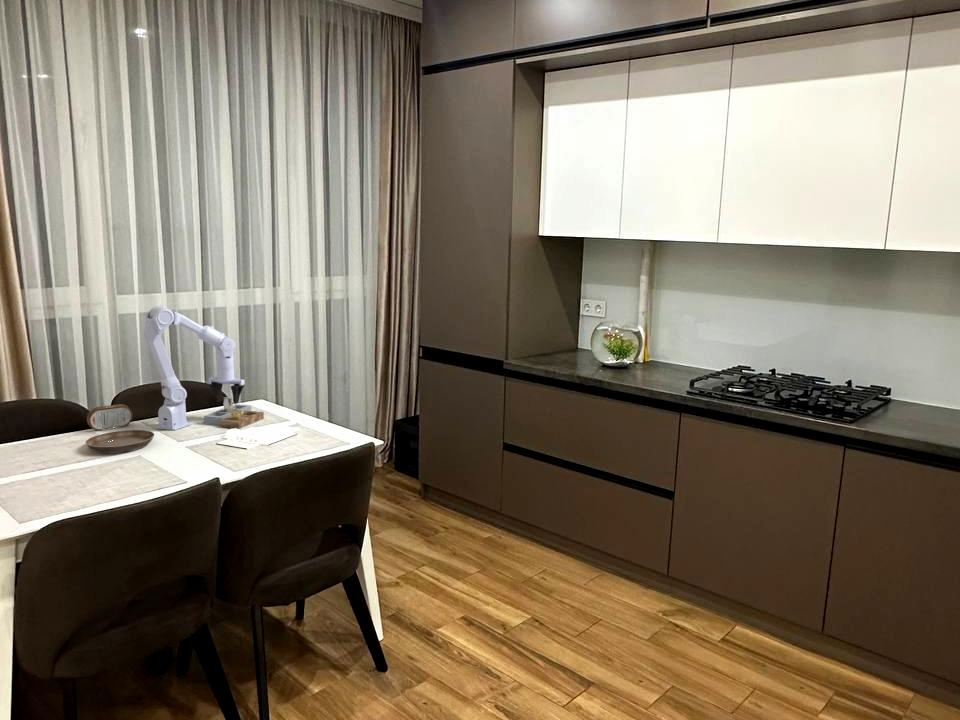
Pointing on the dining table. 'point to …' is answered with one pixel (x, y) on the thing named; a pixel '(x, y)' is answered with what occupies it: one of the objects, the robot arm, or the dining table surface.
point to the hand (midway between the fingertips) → (227, 402)
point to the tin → (109, 416)
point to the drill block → (242, 420)
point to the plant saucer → (120, 441)
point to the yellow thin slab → (235, 413)
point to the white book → (257, 436)
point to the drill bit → (227, 403)
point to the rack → (223, 414)
